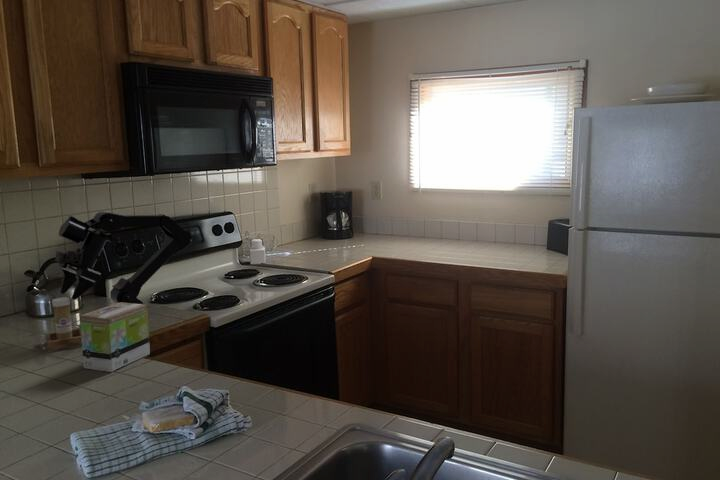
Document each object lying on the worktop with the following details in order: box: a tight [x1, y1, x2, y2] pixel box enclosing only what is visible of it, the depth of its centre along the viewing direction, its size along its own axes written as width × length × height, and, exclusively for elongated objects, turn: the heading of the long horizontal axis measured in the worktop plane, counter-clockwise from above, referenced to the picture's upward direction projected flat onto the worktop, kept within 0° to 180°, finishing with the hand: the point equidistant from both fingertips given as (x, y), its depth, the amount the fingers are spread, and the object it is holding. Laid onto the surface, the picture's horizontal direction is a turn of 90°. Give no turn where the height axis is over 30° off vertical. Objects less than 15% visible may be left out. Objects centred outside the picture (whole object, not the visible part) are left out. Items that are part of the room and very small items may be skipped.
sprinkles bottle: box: [51, 297, 73, 340], centre depth 182 cm, size 5×5×13 cm
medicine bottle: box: [249, 237, 267, 265], centre depth 301 cm, size 7×7×12 cm
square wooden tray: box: [45, 327, 82, 353], centre depth 182 cm, size 10×10×3 cm
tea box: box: [79, 302, 151, 373], centre depth 165 cm, size 15×10×15 cm
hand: (67, 296), depth 185 cm, fingers open, 9 cm apart
